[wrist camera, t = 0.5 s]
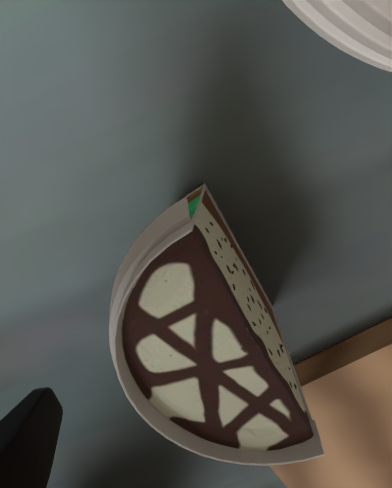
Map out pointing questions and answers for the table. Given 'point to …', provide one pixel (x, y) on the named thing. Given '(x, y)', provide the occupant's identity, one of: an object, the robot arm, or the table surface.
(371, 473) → the walnut block
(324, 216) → the table surface
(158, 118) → the table surface
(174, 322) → the food container
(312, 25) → the plate stack
